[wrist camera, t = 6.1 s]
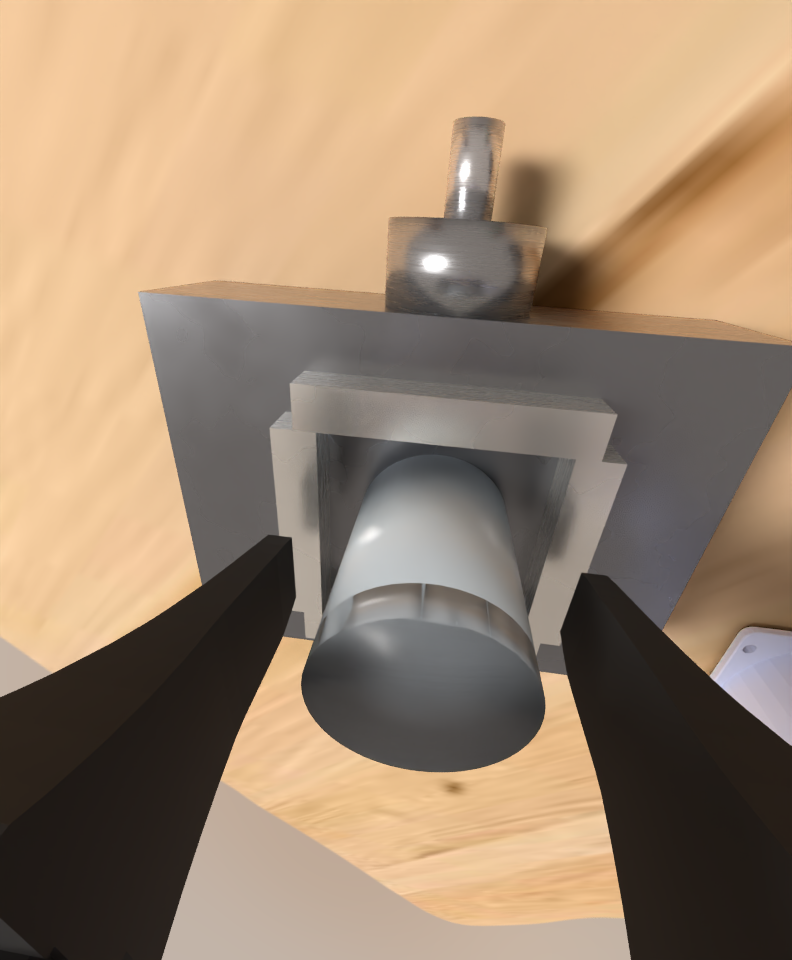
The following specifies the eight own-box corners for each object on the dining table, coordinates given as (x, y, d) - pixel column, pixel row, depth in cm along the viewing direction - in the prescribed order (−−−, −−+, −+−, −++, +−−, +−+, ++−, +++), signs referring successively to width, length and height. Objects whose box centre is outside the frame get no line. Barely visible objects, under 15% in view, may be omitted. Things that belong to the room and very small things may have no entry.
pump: (488, 585, 14) (509, 788, 9) (356, 563, 14) (300, 749, 9) (523, 467, 12) (580, 645, 6) (367, 443, 12) (301, 597, 7)
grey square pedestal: (599, 603, 19) (646, 716, 14) (252, 560, 20) (195, 652, 15) (782, 159, 11) (1012, 97, 7) (194, 126, 12) (42, 55, 8)
